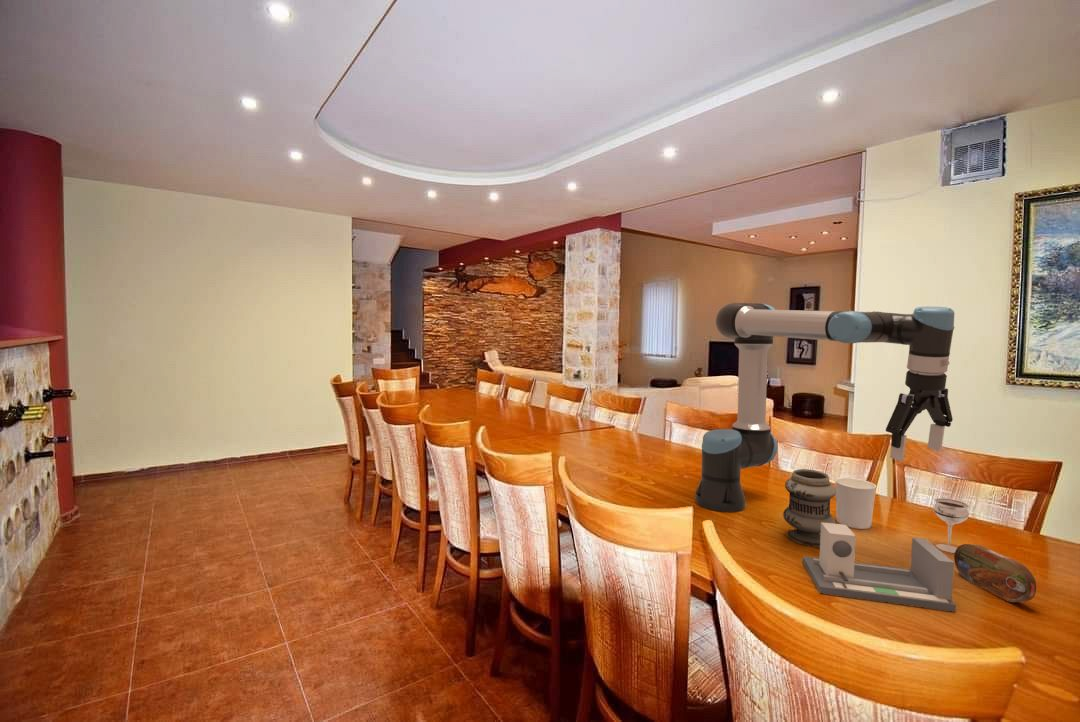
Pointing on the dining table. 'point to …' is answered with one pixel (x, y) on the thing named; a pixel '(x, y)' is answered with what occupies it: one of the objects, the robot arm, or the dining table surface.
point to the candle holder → (854, 502)
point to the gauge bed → (895, 580)
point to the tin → (995, 573)
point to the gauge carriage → (837, 550)
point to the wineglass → (950, 517)
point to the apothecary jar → (808, 505)
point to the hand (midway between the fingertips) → (915, 454)
